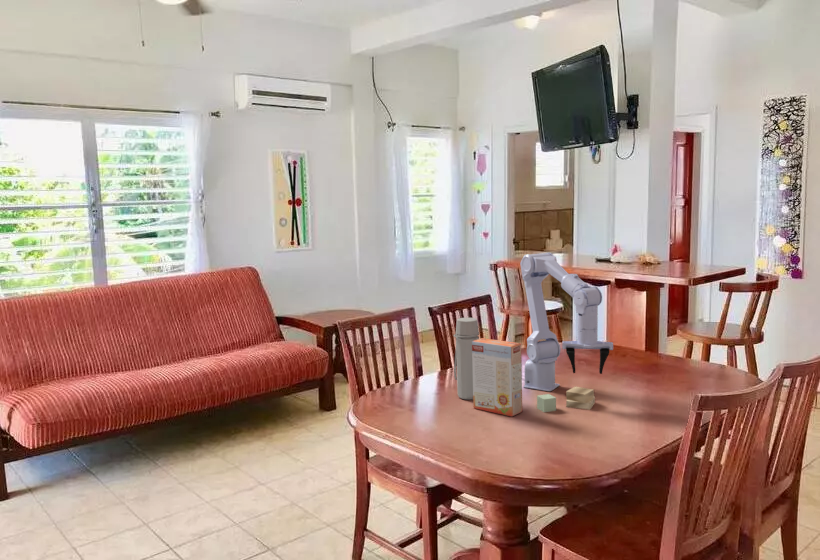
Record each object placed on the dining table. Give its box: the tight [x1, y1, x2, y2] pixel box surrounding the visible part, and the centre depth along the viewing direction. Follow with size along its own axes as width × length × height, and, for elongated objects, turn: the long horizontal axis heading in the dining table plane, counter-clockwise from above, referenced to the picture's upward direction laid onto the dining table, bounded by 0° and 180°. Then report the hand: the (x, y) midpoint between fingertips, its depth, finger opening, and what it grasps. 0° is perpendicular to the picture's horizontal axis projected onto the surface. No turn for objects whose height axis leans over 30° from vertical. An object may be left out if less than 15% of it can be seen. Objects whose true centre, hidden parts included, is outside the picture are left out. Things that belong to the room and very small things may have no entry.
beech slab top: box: [565, 386, 595, 403], centre depth 202 cm, size 6×6×2 cm
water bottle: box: [453, 317, 480, 401], centre depth 212 cm, size 9×8×25 cm
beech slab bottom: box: [565, 396, 596, 410], centre depth 202 cm, size 7×7×2 cm
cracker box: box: [472, 337, 523, 417], centre depth 198 cm, size 14×6×21 cm, turn 48°
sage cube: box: [536, 393, 557, 413], centre depth 199 cm, size 4×4×4 cm
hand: (587, 372), depth 200 cm, fingers open, 7 cm apart
